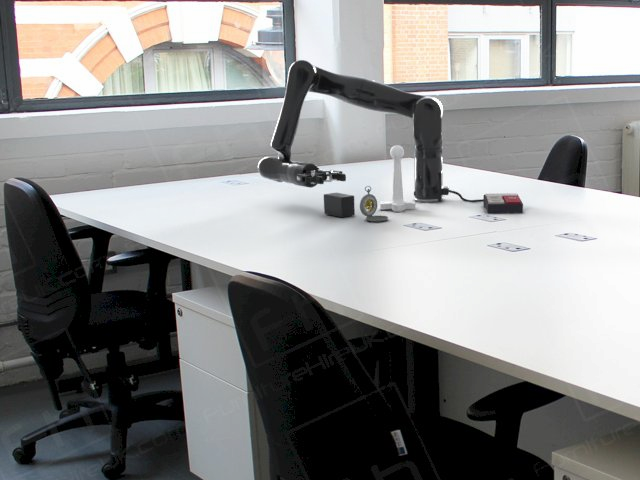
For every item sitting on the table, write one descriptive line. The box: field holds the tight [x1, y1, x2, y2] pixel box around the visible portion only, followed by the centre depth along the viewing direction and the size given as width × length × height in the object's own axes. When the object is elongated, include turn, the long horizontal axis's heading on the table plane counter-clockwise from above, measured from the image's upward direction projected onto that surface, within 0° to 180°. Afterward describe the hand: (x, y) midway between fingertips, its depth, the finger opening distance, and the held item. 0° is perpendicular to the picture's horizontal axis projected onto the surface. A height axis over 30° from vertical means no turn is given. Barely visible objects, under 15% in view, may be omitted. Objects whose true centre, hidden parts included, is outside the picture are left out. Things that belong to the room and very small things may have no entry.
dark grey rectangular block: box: [323, 192, 356, 218], centre depth 325 cm, size 6×5×9 cm
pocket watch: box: [359, 185, 389, 223], centre depth 316 cm, size 8×8×10 cm
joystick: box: [379, 144, 417, 213], centre depth 330 cm, size 11×8×20 cm
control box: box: [482, 192, 524, 215], centre depth 331 cm, size 11×4×15 cm
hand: (333, 179), depth 324 cm, fingers open, 8 cm apart
